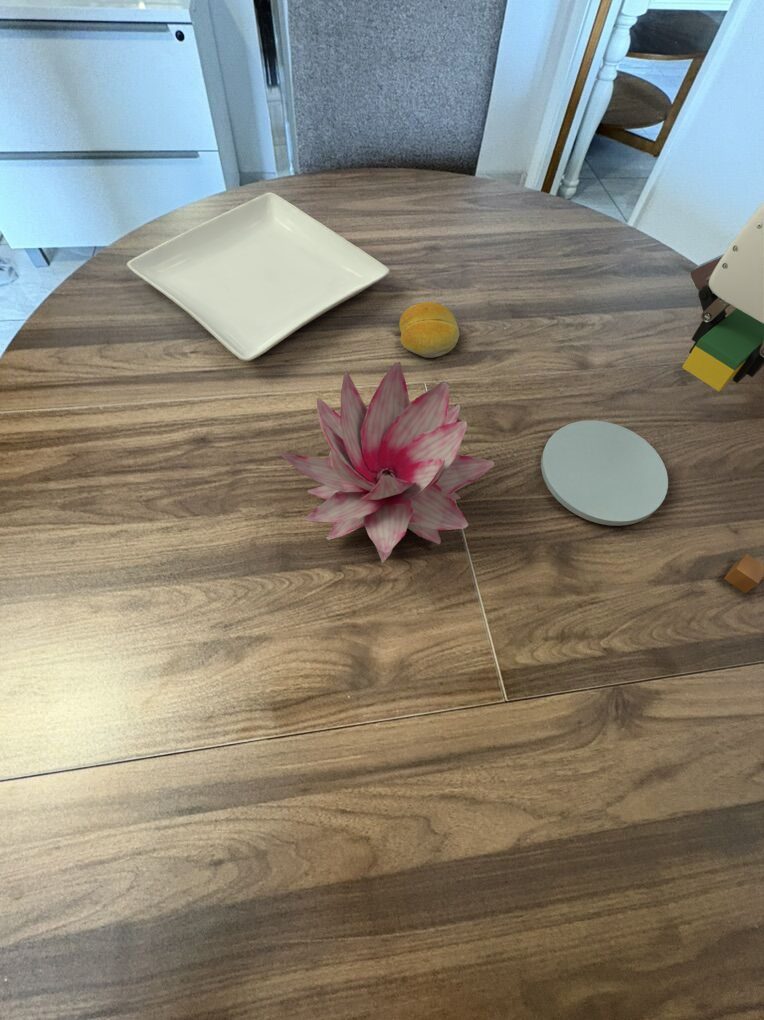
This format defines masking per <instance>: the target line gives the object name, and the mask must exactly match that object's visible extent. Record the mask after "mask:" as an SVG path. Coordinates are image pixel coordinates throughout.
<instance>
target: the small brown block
mask: <svg viewBox="0 0 764 1020" xmlns="http://www.w3.org/2000/svg"><path fill="white" fill-rule="evenodd" d="M763 578H764V564H763V563H762V562H760V561H759V560H758V559H756V558H755V557H753V556H751V555H750V554H748V553H744V555H742V556H741V557H740V558H739V559H738V560H737V561H735V563H733V565H732V566H731V567H730V569H729V570H728V572H727V573H726V575H725V576H724V578H723V579H724V580H725V581H726V582H727V583H728V584H730V585H732V586H733V587H735V588H736V589H738V590H739V591H741V592H742V593H743V594H747V593H749V592H750V591H751V590H752V589H753V588H755V587H757V586H758V585H759V584H760V582H761V581H762V579H763Z"/></svg>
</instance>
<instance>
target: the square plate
mask: <svg viewBox="0 0 764 1020" xmlns="http://www.w3.org/2000/svg"><path fill="white" fill-rule="evenodd" d="M125 265H126V267H127V268H128V269H129V270H130V271H131V272H132V273H133V274H134V275H136V276H137V277H139V278H140V279H141V280H142V281H144V282H146V283H147V284H149V285H150V286H152V287H153V288H154V289H155V290H157V291H159V292H160V293H161V294H163V295H164V296H165V297H166V298H168V299H169V300H171V301H172V302H173V303H174V304H176V305H177V306H178V307H179V308H181V309H182V310H183V311H185V313H187V314H188V315H189V316H190V317H192V318H193V319H194V320H195V321H196V322H197V323H198V324H200V325H201V327H203V328H204V329H205V330H206V331H207V332H208V333H209V334H211V336H213V337H214V338H215V339H216V340H217V341H218V342H219V343H220V344H221V345H222V346H223V347H224V348H226V349H227V350H228V351H229V352H230V353H231V354H233V355H234V356H235V357H237V359H239V360H240V361H242V362H249V361H253V360H254V359H257V358H258V357H260V356H261V355H263V354H264V353H267V352H268V351H269V350H270V349H271V348H273V347H275V346H276V345H278V344H279V343H280V342H282V341H283V340H284V339H286V338H288V337H289V336H290V335H292V334H293V333H295V332H296V331H298V330H299V329H301V328H302V327H304V326H306V325H307V324H309V323H310V322H312V321H314V320H315V319H317V318H319V317H320V316H321V315H323V314H325V313H326V312H328V311H330V310H332V309H333V308H335V307H337V306H339V305H340V304H342V303H344V302H345V301H348V300H349V299H352V298H353V297H355V296H356V295H358V294H360V293H361V292H363V291H365V290H366V289H368V288H369V287H371V286H373V285H374V284H376V283H378V282H379V281H381V280H383V279H385V277H387V276H388V275H389V274H390V273H391V272H390V271H391V270H390V269H389V267H388V266H386V265H385V264H384V263H382V262H380V261H379V260H377V259H376V258H374V257H373V256H372V255H370V254H369V253H367V252H366V251H364V250H363V249H361V248H359V247H358V246H357V245H355V244H353V243H352V242H350V241H349V240H347V239H346V238H344V237H343V236H342V235H340V234H338V233H337V232H335V231H334V230H332V229H330V228H329V227H328V226H326V225H324V224H323V223H321V222H320V221H318V220H316V219H315V218H313V217H312V216H310V215H309V214H307V213H306V212H305V211H303V210H301V209H300V208H298V207H296V206H295V205H293V204H292V203H290V202H289V201H287V200H285V199H284V198H282V197H281V196H279V195H277V194H276V193H275V192H265V193H263V194H261V195H258V196H257V197H254V198H252V199H250V200H247V201H245V202H243V203H241V204H240V205H237V206H236V207H233V208H231V209H229V210H227V211H225V212H222V213H220V214H219V215H217V216H214V217H213V218H210V219H208V220H206V221H204V222H202V223H200V224H198V225H196V226H194V227H192V228H190V229H188V230H186V231H184V232H182V233H180V234H178V235H176V236H174V237H172V238H170V239H168V240H166V241H164V242H162V243H160V244H158V245H157V246H154V247H152V248H150V249H149V250H146V251H145V252H143V253H140V254H138V255H137V256H135V257H133V258H131V259H130V260H128V261H127V262H126V264H125Z"/></svg>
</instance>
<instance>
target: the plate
mask: <svg viewBox="0 0 764 1020" xmlns="http://www.w3.org/2000/svg"><path fill="white" fill-rule="evenodd" d="M540 469H541V475H542V478H543V481H544V484H545V485H546V487H547V489H548V490H549V492H550V494H551V495H552V496H553V497H554V498H555V500H556V501H557V502H559V503H560V505H562V506H563V507H564V508H566V509H567V510H568V511H569V512H571V513H573V514H574V515H576V516H578V517H580V518H581V519H583V520H586V521H589V522H592V523H595V524H600V525H606V526H613V527H614V526H617V527H619V526H629V525H633V524H636V523H639V522H642V521H644V520H646V519H648V518H649V517H650V516H652V515H653V514H654V513H655V512H656V511H657V510H658V509H659V508H660V506H661V505H662V503H663V502H664V501H665V498H666V496H667V493H668V489H669V477H668V476H669V475H668V471H667V468H666V466H665V463H664V461H663V459H662V458H661V456H660V455H659V453H658V452H657V450H656V449H655V448H654V447H653V446H652V445H651V444H650V443H649V442H648V441H647V440H646V439H644V438H643V437H642V436H640V435H639V434H638V433H636V432H634V431H632V430H630V429H628V428H626V427H624V426H622V425H619V424H616V423H613V422H609V421H604V420H591V419H590V420H580V421H575V422H572V423H569V424H566V425H565V426H562V427H561V428H559V429H557V430H556V431H555V432H554V433H553V434H552V435H551V436H550V437H549V439H548V440H547V442H546V444H545V446H544V448H543V451H542V453H541V459H540Z"/></svg>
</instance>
